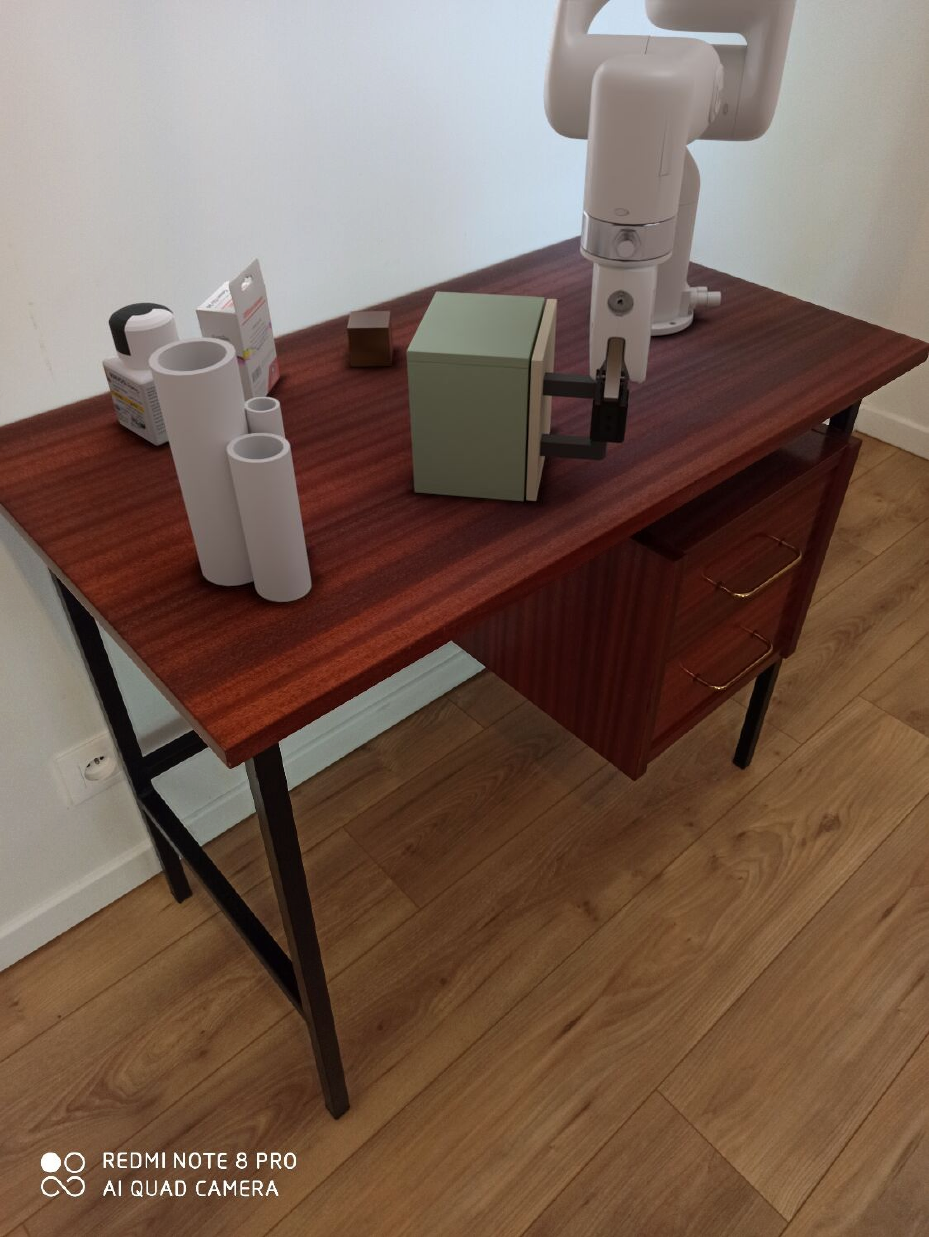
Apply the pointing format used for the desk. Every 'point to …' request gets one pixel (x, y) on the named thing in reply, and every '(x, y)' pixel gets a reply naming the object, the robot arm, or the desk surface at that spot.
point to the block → (370, 338)
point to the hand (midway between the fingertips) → (607, 433)
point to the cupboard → (472, 394)
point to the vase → (232, 470)
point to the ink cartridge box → (244, 328)
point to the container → (138, 366)
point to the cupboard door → (540, 406)
